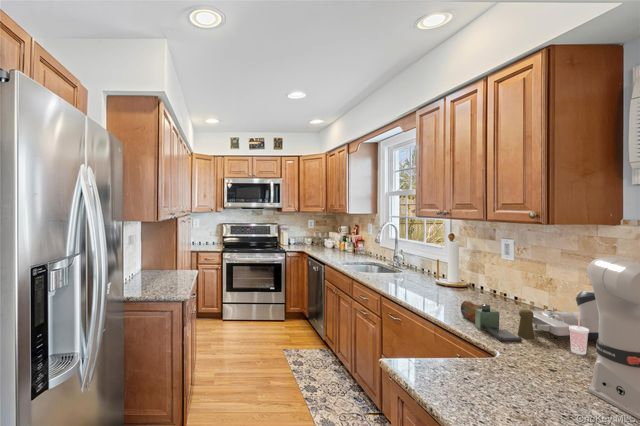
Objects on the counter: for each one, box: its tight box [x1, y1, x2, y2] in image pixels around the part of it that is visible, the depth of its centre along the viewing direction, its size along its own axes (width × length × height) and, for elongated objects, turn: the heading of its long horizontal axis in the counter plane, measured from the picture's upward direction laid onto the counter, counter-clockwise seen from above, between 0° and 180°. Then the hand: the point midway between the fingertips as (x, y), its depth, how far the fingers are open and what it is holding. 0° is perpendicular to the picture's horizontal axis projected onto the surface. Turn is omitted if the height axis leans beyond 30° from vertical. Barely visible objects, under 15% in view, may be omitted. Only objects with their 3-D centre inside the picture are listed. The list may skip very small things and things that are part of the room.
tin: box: [460, 300, 481, 323], centre depth 165 cm, size 15×3×8 cm, turn 14°
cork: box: [517, 308, 535, 340], centre depth 146 cm, size 6×6×11 cm
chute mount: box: [474, 303, 523, 343], centre depth 148 cm, size 18×10×10 cm, turn 1°
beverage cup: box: [569, 315, 589, 356], centre depth 130 cm, size 6×6×14 cm
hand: (528, 323), depth 146 cm, fingers open, 8 cm apart
